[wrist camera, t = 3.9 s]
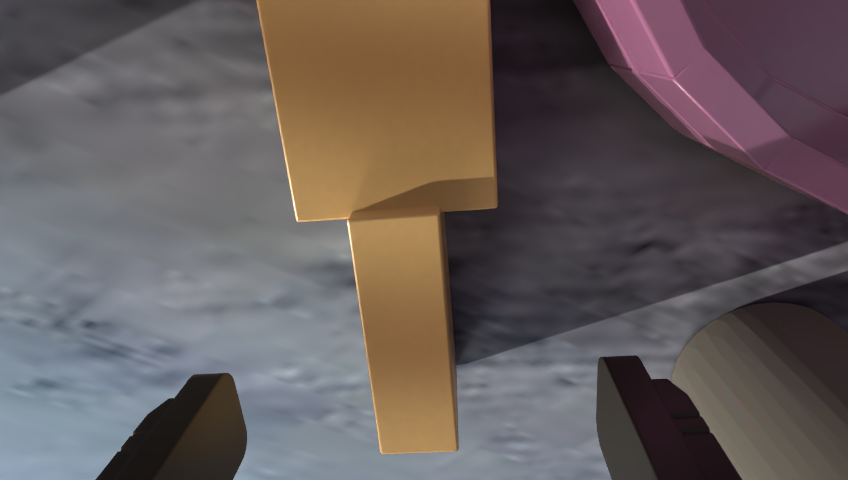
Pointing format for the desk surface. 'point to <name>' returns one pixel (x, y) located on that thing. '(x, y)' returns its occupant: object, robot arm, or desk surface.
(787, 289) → the desk surface
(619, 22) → the bowl
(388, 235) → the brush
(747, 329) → the bottle
